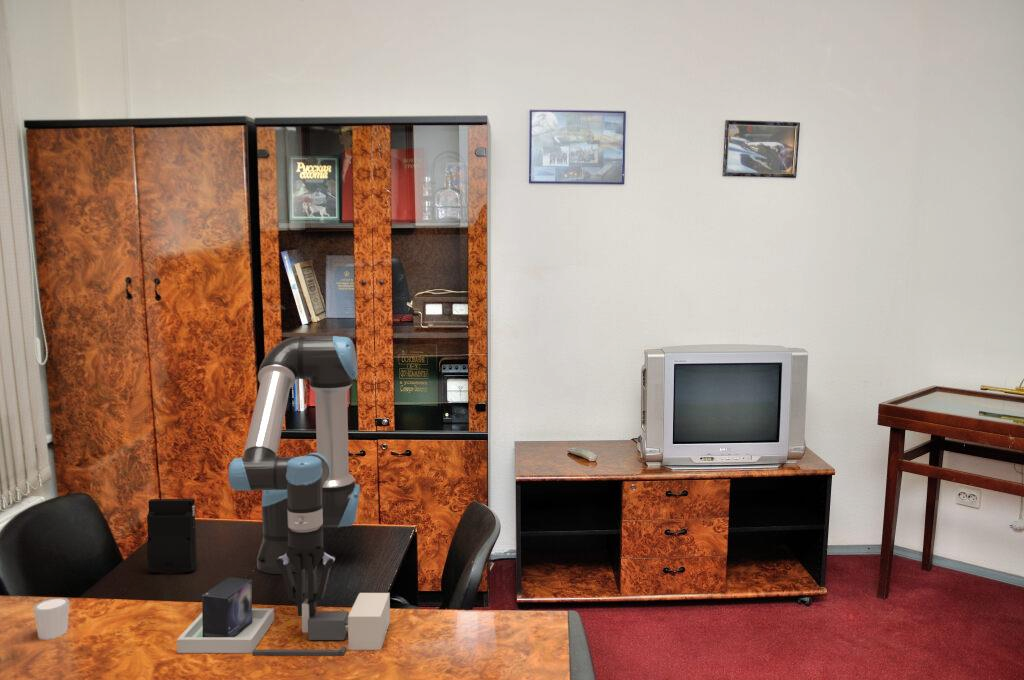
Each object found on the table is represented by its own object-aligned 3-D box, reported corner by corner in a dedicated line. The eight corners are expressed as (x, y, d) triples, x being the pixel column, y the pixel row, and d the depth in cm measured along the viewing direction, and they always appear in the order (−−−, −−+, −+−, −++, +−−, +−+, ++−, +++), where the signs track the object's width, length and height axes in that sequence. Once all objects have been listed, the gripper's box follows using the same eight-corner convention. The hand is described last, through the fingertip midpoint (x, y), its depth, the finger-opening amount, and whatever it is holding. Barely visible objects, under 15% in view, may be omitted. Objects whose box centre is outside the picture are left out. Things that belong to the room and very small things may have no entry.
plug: (313, 630, 167) (313, 611, 166) (356, 630, 167) (356, 611, 166) (308, 639, 162) (307, 620, 162) (352, 640, 162) (351, 620, 162)
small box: (228, 644, 159) (226, 597, 158) (201, 641, 160) (199, 595, 159) (254, 622, 169) (253, 578, 168) (228, 619, 170) (227, 576, 169)
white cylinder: (33, 643, 161) (31, 613, 160) (36, 630, 167) (35, 600, 166) (69, 636, 164) (68, 606, 163) (71, 624, 170) (70, 595, 169)
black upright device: (198, 568, 203) (196, 498, 201) (191, 575, 198) (189, 503, 196) (154, 569, 202) (151, 498, 201) (146, 575, 198) (143, 503, 196)
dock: (206, 620, 172) (205, 608, 172) (274, 620, 172) (273, 608, 172) (177, 652, 157) (176, 639, 157) (251, 653, 157) (251, 639, 157)
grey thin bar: (256, 649, 158) (256, 646, 158) (346, 649, 158) (346, 646, 158) (252, 655, 156) (252, 651, 156) (343, 655, 156) (343, 652, 156)
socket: (359, 623, 170) (358, 592, 170) (389, 624, 170) (389, 592, 170) (347, 649, 158) (347, 616, 158) (380, 649, 158) (380, 616, 158)
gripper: (270, 532, 159) (272, 637, 160) (330, 533, 158) (332, 637, 160) (281, 521, 166) (283, 621, 168) (338, 521, 166) (340, 621, 168)
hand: (307, 629), depth 164 cm, fingers closed
